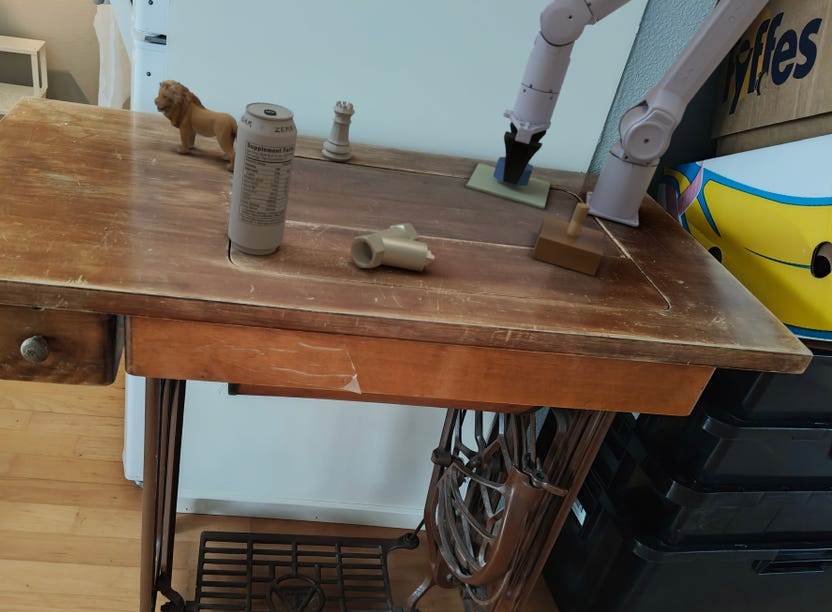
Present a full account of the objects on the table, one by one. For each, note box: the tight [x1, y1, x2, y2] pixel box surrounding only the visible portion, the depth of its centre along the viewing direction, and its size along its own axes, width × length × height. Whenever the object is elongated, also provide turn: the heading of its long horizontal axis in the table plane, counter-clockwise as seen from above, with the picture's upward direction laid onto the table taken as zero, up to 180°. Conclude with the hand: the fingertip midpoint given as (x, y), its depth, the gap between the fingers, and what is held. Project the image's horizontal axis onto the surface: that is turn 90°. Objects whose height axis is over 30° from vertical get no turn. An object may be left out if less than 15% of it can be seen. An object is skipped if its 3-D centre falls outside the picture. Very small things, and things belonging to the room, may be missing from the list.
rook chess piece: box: [321, 100, 355, 162], centre depth 108 cm, size 4×4×8 cm
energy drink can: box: [227, 102, 298, 256], centre depth 77 cm, size 6×6×15 cm
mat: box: [465, 162, 551, 210], centre depth 114 cm, size 12×12×1 cm
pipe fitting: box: [350, 222, 435, 272], centre depth 82 cm, size 8×4×7 cm
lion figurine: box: [153, 79, 238, 172], centre depth 98 cm, size 15×5×9 cm, turn 73°
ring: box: [493, 156, 534, 186], centre depth 112 cm, size 5×5×2 cm
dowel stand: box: [531, 202, 604, 277], centre depth 93 cm, size 8×8×7 cm
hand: (512, 176), depth 113 cm, fingers closed on ring, 5 cm apart
